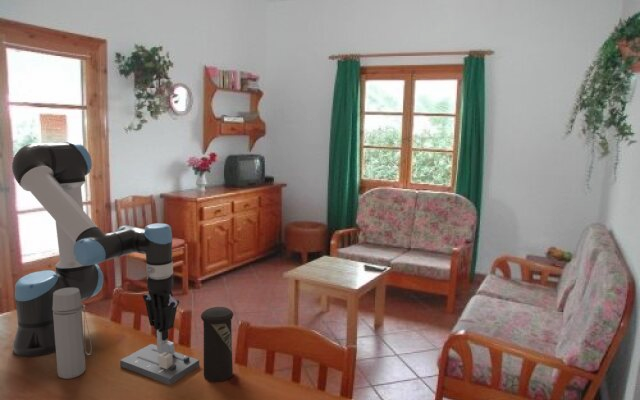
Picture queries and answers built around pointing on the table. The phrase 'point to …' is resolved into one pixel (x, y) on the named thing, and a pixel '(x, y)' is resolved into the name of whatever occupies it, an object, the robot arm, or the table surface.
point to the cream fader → (165, 360)
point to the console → (148, 364)
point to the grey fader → (167, 347)
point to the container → (217, 344)
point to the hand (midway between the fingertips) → (162, 348)
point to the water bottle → (69, 332)
